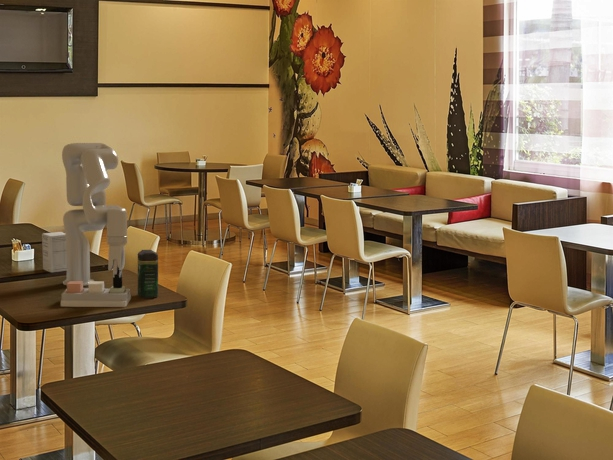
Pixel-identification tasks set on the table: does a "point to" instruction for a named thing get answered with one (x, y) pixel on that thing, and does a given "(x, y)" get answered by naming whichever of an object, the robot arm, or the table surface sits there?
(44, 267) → the supplement box
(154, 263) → the coffee jar
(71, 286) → the terracotta key
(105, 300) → the keypad
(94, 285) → the cream key
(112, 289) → the sage key
